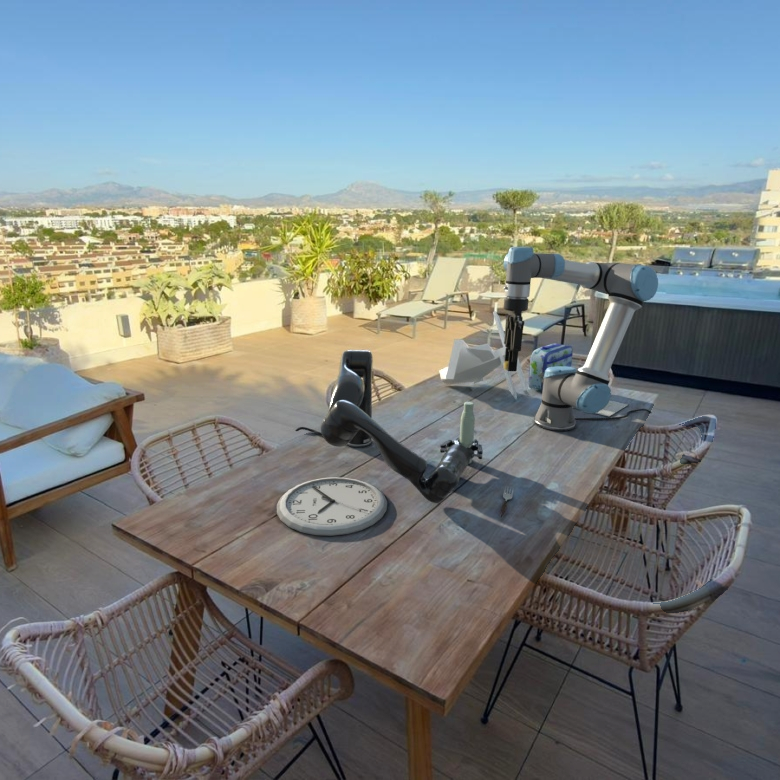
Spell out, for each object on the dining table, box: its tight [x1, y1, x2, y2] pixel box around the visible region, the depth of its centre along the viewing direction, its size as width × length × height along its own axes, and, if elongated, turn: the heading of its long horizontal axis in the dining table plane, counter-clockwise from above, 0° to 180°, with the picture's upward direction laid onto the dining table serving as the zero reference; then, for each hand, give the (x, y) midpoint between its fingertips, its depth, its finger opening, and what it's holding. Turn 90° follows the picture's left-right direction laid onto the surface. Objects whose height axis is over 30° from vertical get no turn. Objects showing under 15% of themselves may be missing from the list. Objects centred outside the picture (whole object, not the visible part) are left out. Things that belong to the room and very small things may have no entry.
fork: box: [500, 486, 514, 518], centre depth 144 cm, size 3×16×2 cm, turn 160°
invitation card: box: [575, 400, 629, 418], centre depth 226 cm, size 21×1×15 cm
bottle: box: [459, 401, 476, 465], centre depth 168 cm, size 4×4×20 cm
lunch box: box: [528, 343, 574, 392], centre depth 249 cm, size 26×11×21 cm, turn 134°
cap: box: [504, 361, 508, 370], centre depth 171 cm, size 4×4×2 cm
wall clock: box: [276, 476, 388, 537], centre depth 142 cm, size 30×2×30 cm
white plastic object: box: [438, 310, 531, 400], centre depth 245 cm, size 37×45×31 cm
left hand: (468, 440), depth 172 cm, fingers closed on bottle, 4 cm apart
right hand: (510, 368), depth 172 cm, fingers closed on cap, 4 cm apart
